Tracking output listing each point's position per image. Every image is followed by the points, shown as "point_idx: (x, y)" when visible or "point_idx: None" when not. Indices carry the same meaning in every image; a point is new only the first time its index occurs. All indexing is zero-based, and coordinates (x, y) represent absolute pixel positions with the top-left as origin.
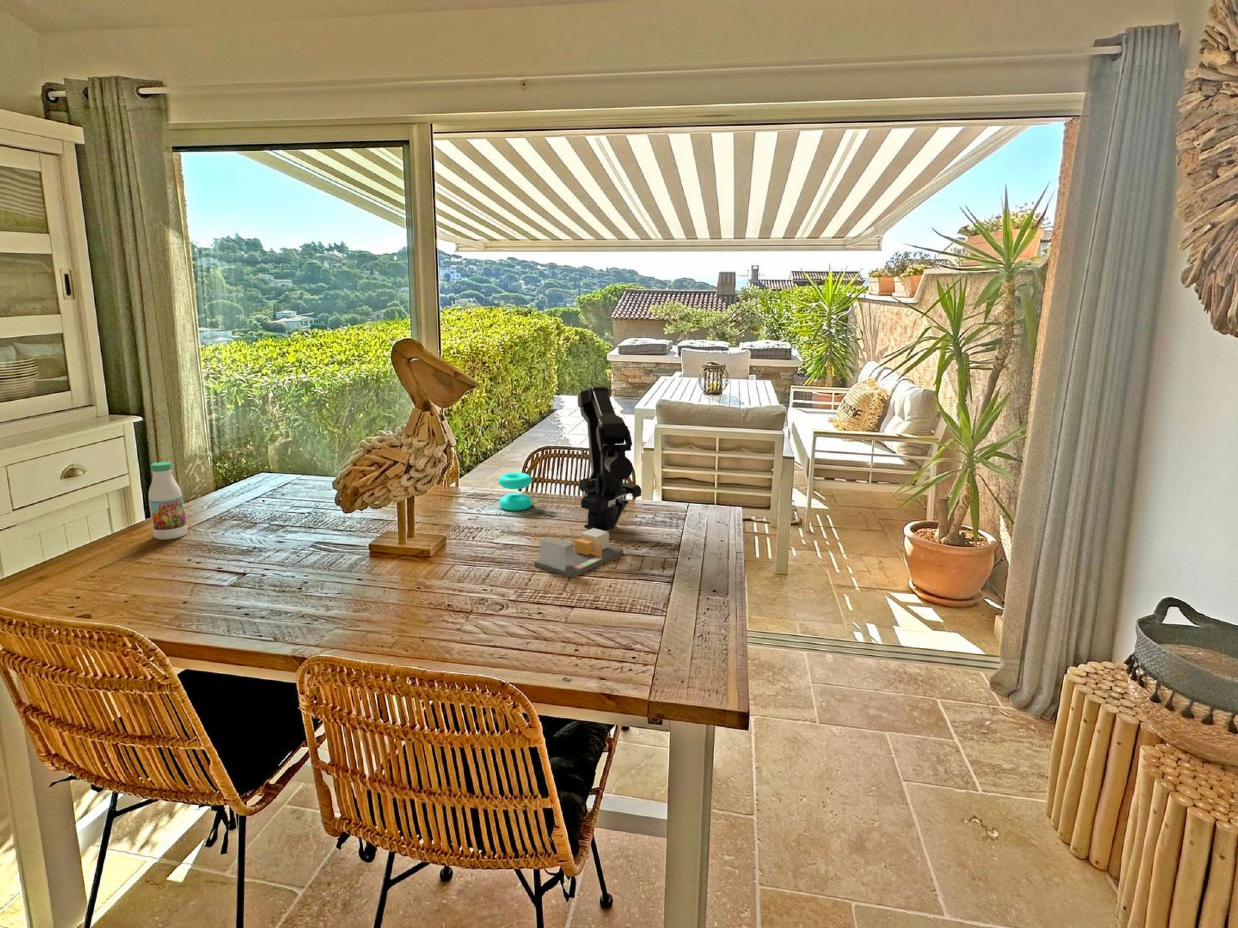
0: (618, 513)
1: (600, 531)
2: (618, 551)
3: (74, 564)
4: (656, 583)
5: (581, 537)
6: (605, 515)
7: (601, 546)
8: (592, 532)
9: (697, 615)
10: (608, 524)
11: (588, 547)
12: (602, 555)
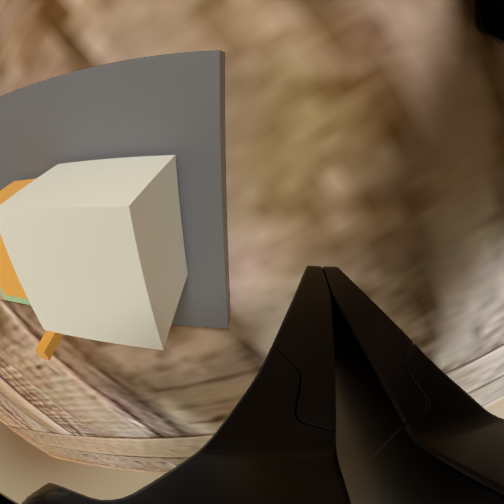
0: (337, 453)
1: (120, 303)
2: (188, 325)
3: None
4: (132, 423)
5: (15, 197)
6: (261, 369)
7: (53, 348)
8: (58, 269)
9: (112, 455)
10: (297, 288)
11: None
12: None
